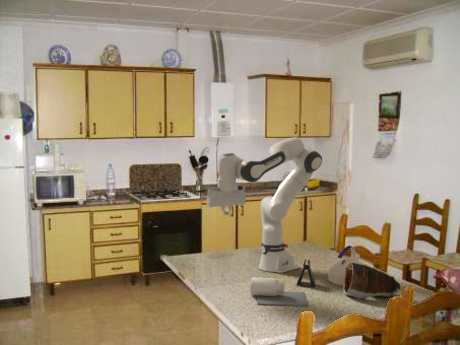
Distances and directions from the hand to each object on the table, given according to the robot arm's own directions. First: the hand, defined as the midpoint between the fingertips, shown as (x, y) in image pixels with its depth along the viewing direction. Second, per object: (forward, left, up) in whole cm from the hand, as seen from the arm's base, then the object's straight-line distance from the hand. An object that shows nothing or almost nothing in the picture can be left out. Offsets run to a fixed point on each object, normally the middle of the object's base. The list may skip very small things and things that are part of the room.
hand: (226, 214), depth 225 cm
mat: (-12, +30, -34) cm, 47 cm away
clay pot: (-53, +46, -34) cm, 78 cm away
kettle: (-59, +24, -34) cm, 72 cm away
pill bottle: (-3, +20, -30) cm, 36 cm away
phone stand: (-35, +20, -34) cm, 53 cm away
